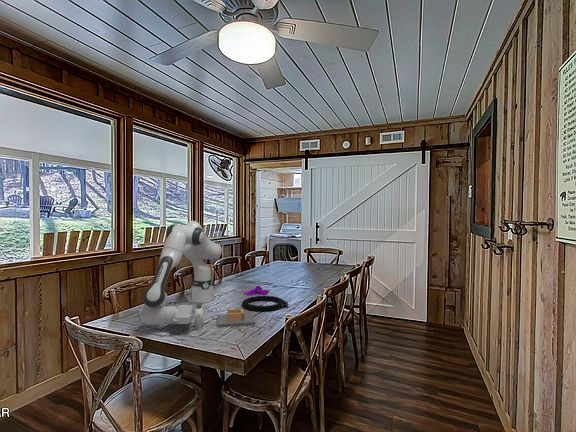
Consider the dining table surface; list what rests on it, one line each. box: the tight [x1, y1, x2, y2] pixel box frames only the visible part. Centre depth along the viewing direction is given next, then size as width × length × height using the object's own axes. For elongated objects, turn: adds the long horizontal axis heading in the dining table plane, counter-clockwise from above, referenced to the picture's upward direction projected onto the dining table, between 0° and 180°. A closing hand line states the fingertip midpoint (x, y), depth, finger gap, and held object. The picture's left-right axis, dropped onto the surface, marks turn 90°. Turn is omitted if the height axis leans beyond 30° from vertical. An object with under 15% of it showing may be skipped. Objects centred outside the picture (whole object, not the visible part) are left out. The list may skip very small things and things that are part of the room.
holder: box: [216, 308, 256, 328], centre depth 181 cm, size 20×16×6 cm
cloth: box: [242, 285, 270, 297], centre depth 242 cm, size 22×19×6 cm
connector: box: [194, 302, 204, 330], centre depth 171 cm, size 4×4×13 cm
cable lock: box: [241, 295, 289, 313], centre depth 211 cm, size 28×4×30 cm
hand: (200, 313), depth 171 cm, fingers open, 7 cm apart
